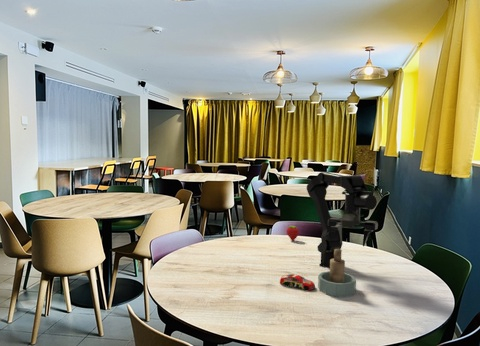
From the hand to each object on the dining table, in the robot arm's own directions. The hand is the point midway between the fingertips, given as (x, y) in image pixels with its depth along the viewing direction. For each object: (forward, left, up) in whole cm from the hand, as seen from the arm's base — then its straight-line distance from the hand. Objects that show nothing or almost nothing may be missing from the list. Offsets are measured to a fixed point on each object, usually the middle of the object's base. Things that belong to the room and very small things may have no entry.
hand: (351, 244), depth 145 cm
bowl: (-1, -17, -13) cm, 21 cm away
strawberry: (-42, +38, -13) cm, 58 cm away
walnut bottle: (-1, -17, -12) cm, 21 cm away
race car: (-14, -22, -14) cm, 29 cm away
